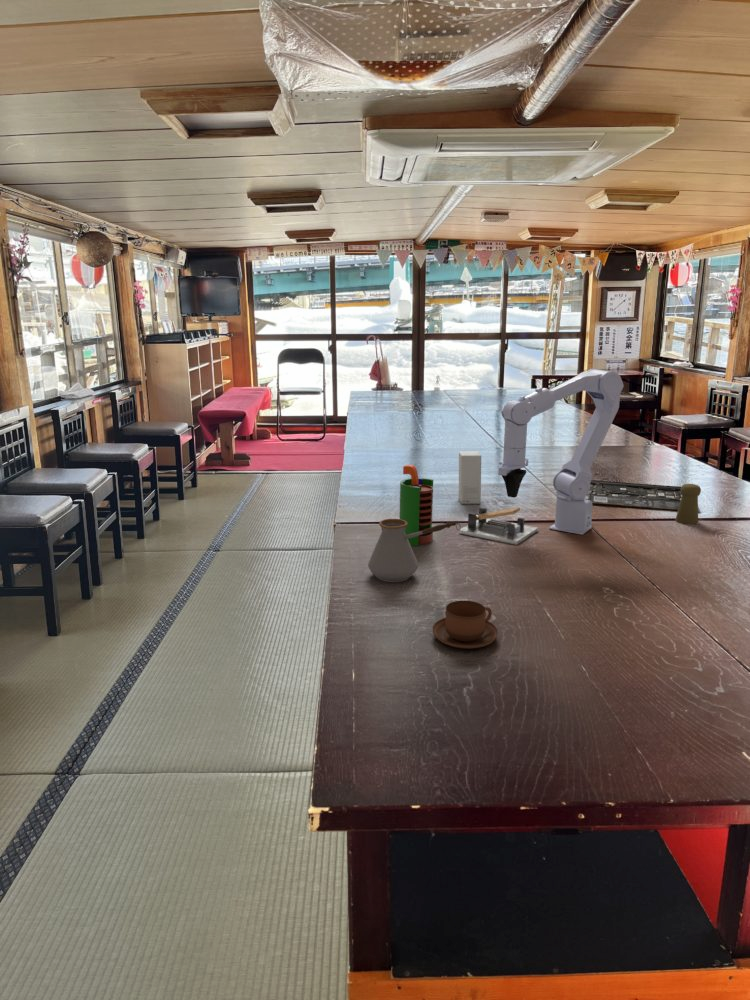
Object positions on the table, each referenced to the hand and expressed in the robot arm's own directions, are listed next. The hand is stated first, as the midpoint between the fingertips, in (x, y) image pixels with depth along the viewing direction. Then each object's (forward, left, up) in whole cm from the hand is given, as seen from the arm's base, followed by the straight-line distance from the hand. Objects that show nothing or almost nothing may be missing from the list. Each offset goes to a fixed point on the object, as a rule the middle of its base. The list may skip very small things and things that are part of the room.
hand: (512, 496), depth 183 cm
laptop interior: (-18, -57, -11) cm, 61 cm away
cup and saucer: (-18, +62, -11) cm, 65 cm away
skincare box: (+25, -23, -11) cm, 36 cm away
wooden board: (+4, +1, -6) cm, 7 cm away
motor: (+19, +19, -11) cm, 29 cm away
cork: (-37, -38, -11) cm, 55 cm away
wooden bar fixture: (+3, +1, -10) cm, 11 cm away
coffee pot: (+5, +43, -11) cm, 44 cm away
